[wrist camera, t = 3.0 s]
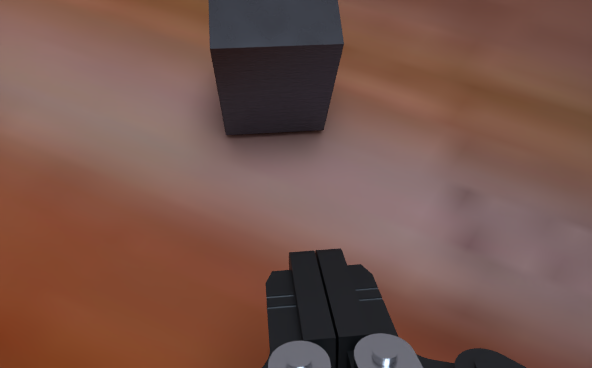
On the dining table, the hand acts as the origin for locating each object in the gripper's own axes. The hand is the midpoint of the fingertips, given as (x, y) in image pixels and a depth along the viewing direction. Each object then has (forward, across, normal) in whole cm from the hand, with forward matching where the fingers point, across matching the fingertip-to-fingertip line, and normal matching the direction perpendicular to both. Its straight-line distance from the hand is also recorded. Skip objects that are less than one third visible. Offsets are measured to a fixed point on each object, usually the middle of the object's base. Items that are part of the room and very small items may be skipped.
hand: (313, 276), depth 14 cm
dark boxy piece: (+23, 0, -5) cm, 24 cm away
